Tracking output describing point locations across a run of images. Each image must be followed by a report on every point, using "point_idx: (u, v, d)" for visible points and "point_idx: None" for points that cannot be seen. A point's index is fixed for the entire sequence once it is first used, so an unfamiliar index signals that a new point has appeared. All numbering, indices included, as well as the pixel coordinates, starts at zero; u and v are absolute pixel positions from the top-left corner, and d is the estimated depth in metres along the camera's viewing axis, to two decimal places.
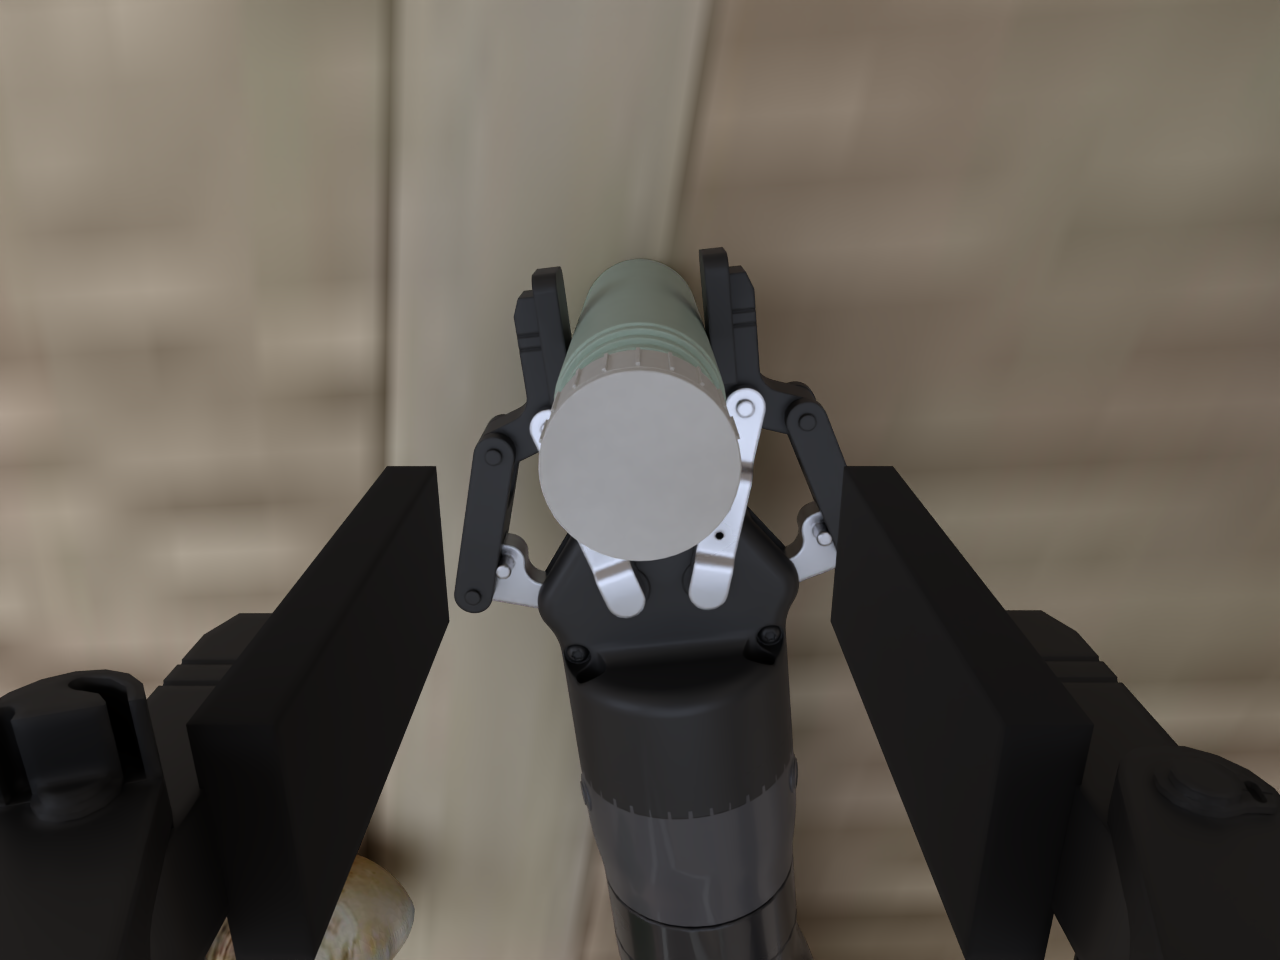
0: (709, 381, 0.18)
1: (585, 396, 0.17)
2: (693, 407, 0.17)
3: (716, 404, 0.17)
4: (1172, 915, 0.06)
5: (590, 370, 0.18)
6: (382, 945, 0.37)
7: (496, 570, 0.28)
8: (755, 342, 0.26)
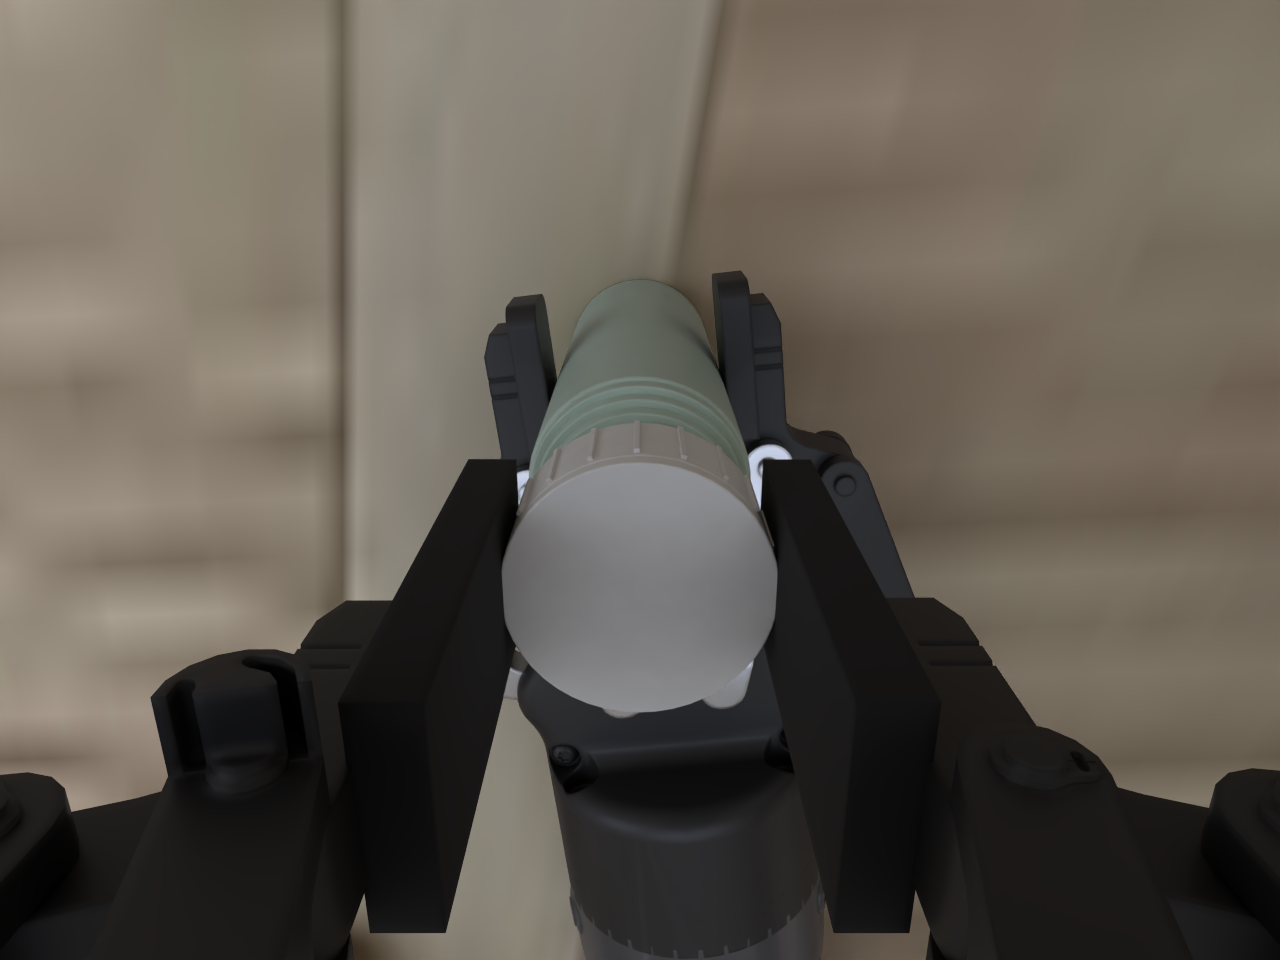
0: (733, 466, 0.14)
1: (563, 498, 0.12)
2: (714, 512, 0.12)
3: (746, 508, 0.12)
4: (1002, 890, 0.06)
5: (571, 455, 0.13)
6: None
7: None
8: (781, 388, 0.21)
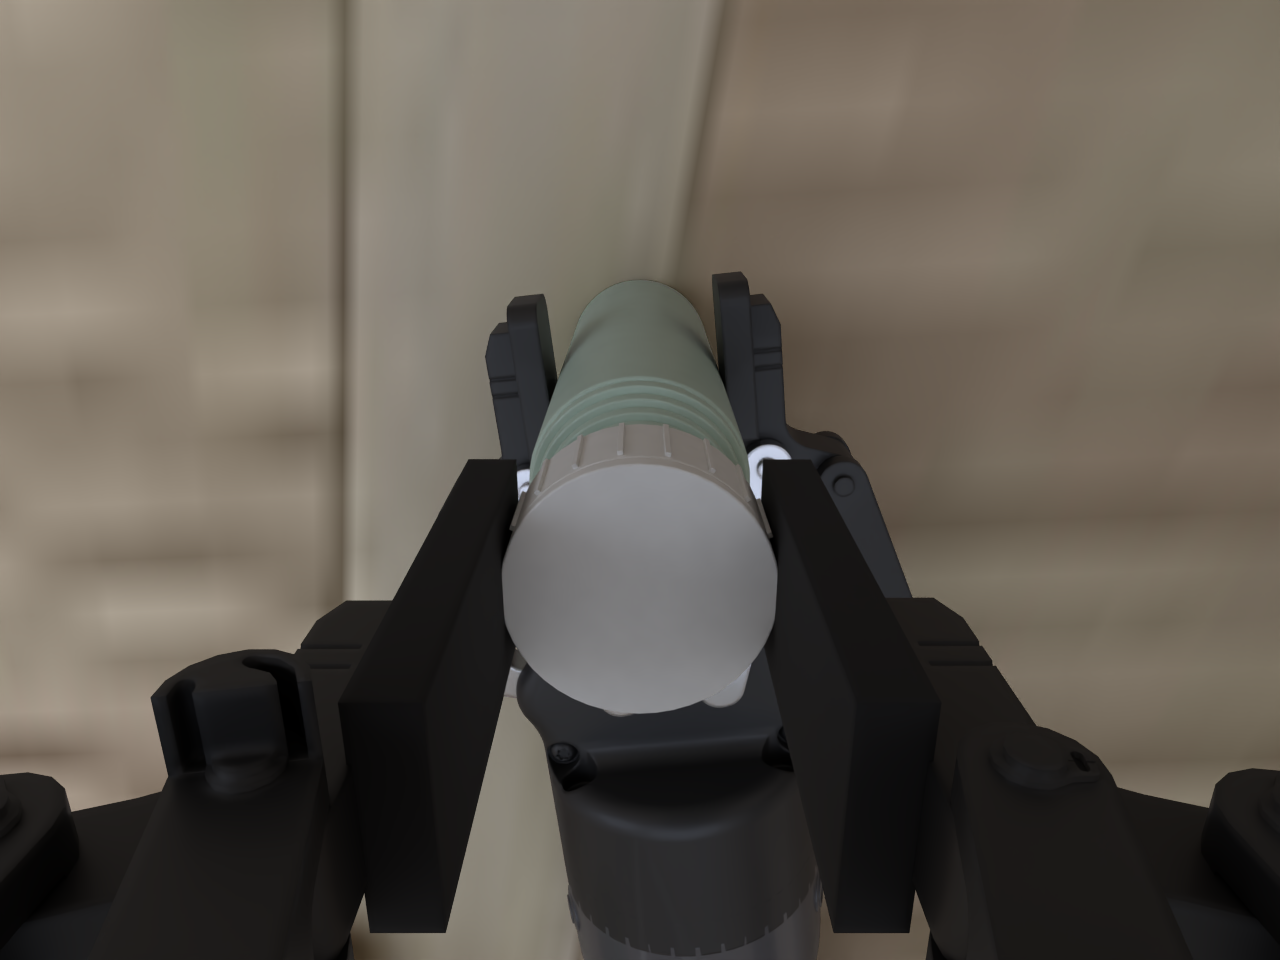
0: None
1: (587, 695, 0.13)
2: (525, 580, 0.13)
3: (505, 557, 0.12)
4: (1002, 889, 0.06)
5: None
6: None
7: None
8: (781, 388, 0.21)
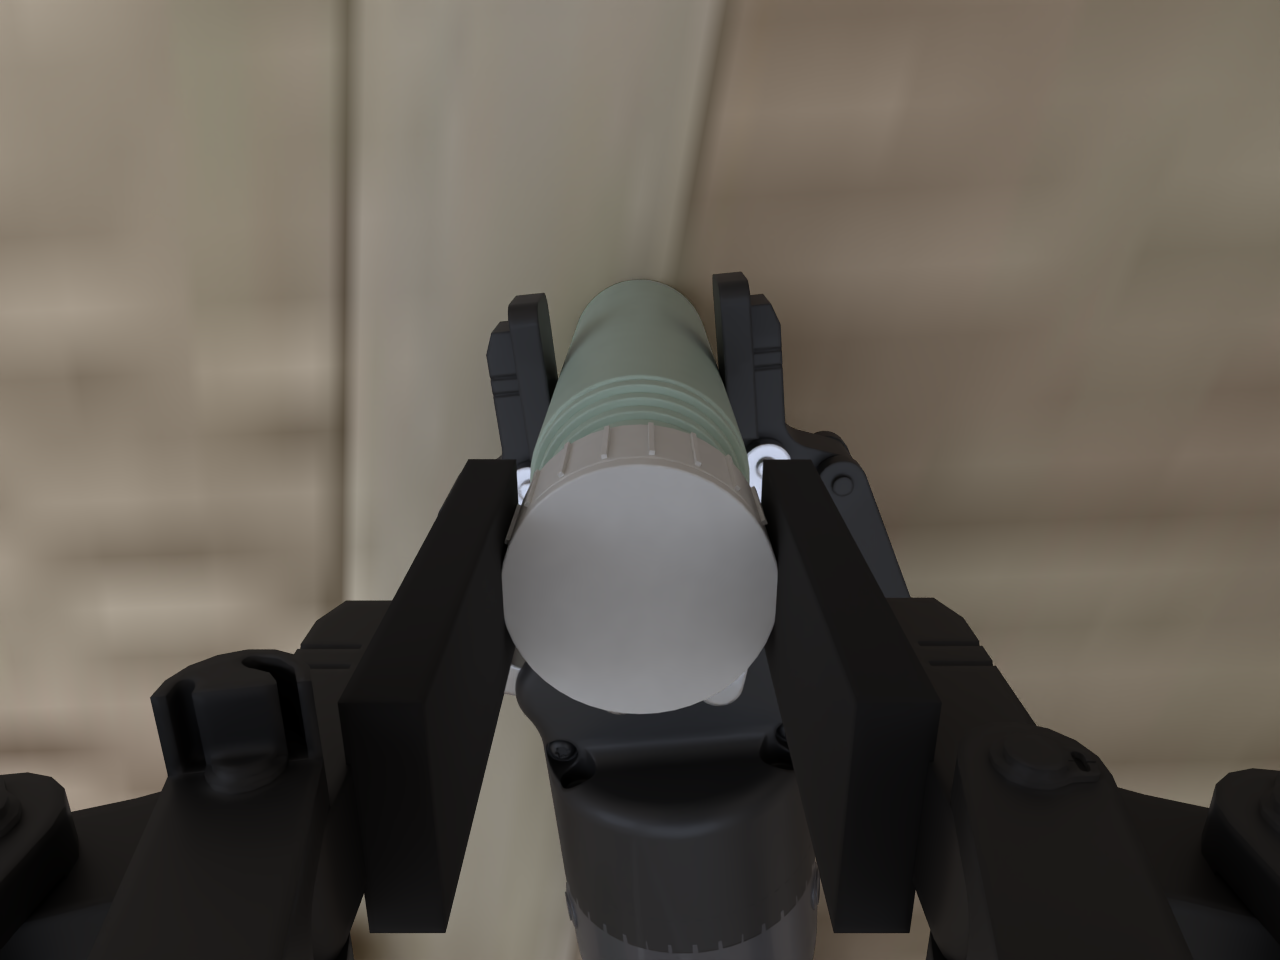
0: None
1: (767, 587, 0.13)
2: (680, 688, 0.13)
3: (668, 710, 0.13)
4: (1002, 890, 0.06)
5: None
6: None
7: None
8: (780, 388, 0.21)
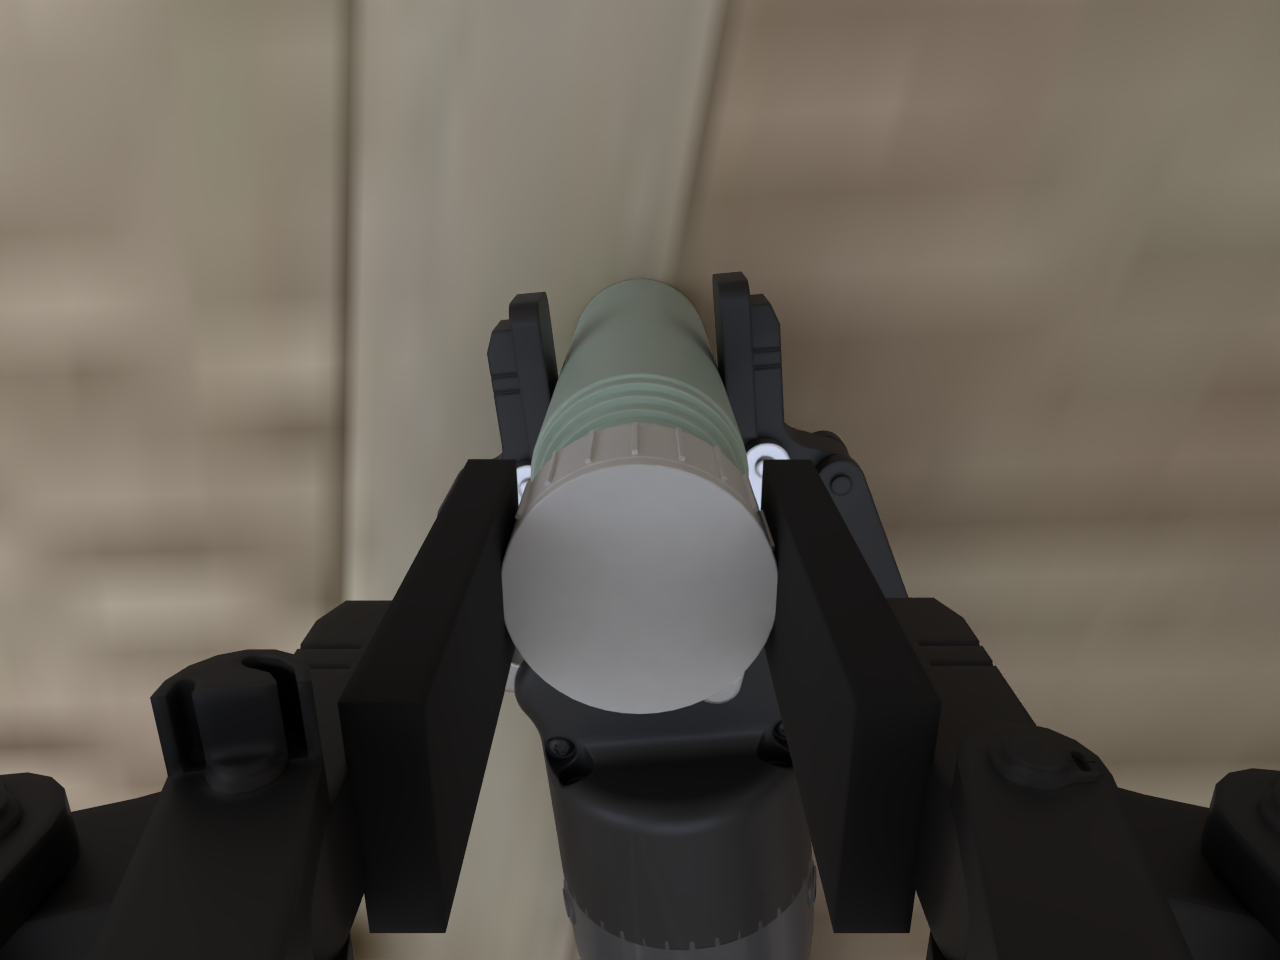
0: (732, 466, 0.14)
1: (562, 500, 0.12)
2: (713, 513, 0.12)
3: (745, 508, 0.12)
4: (1002, 890, 0.06)
5: (570, 457, 0.13)
6: None
7: None
8: (779, 387, 0.21)
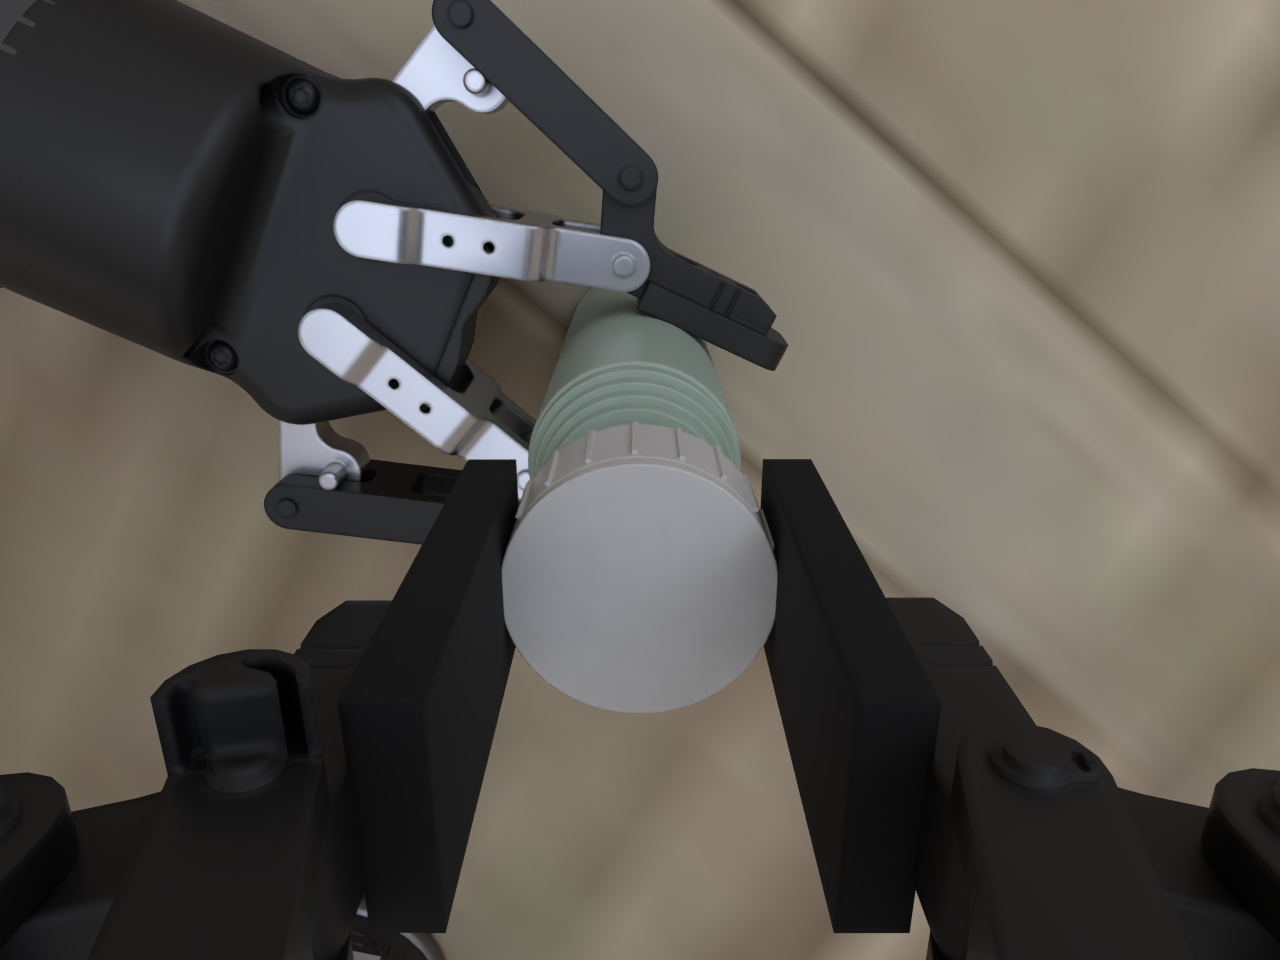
0: (732, 466, 0.14)
1: (562, 500, 0.12)
2: (712, 512, 0.12)
3: (744, 508, 0.12)
4: (1003, 890, 0.06)
5: (570, 457, 0.13)
6: None
7: (481, 74, 0.19)
8: None
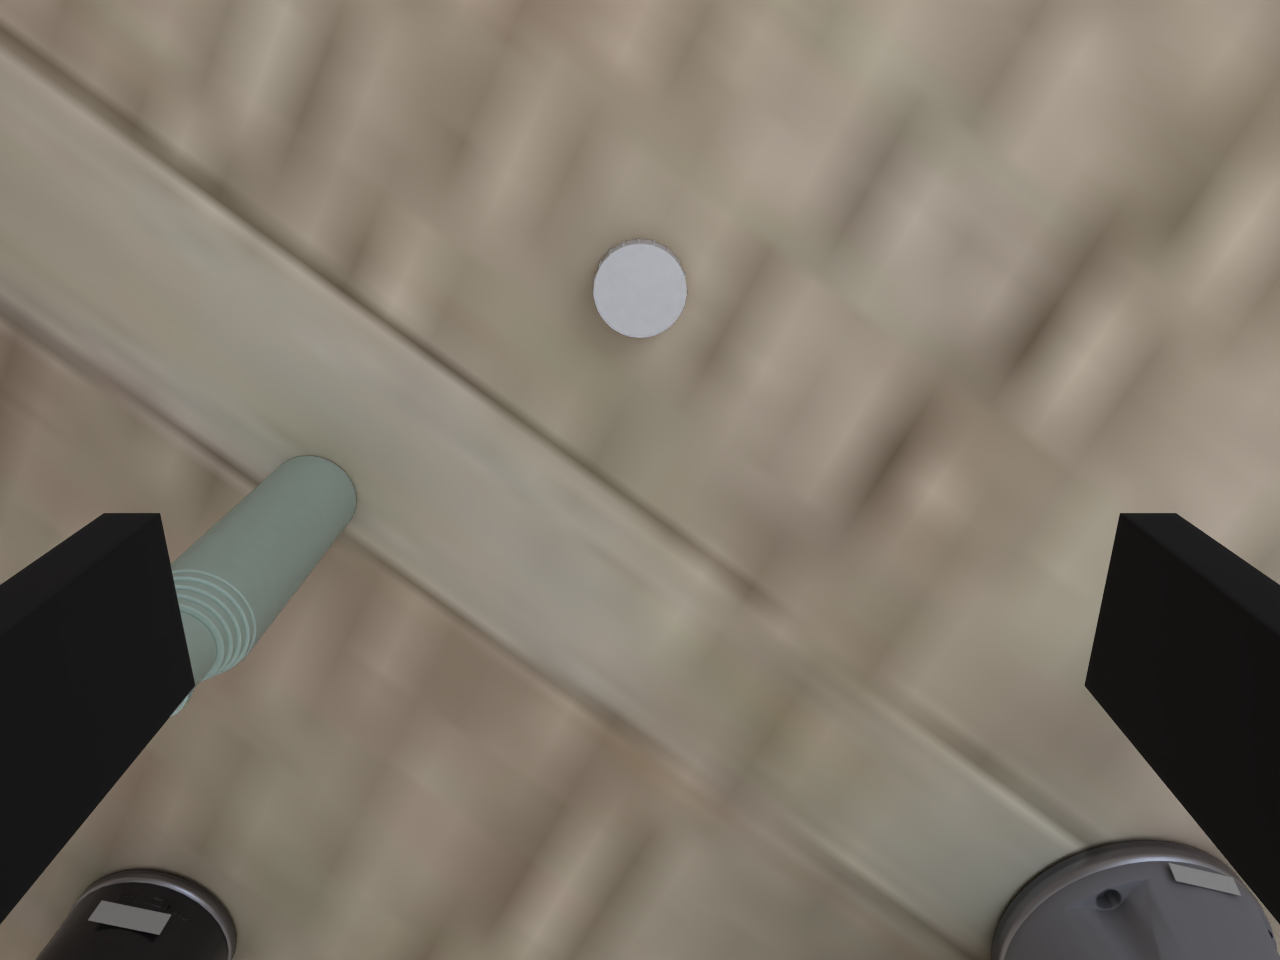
0: (672, 253, 0.39)
1: (615, 256, 0.37)
2: (663, 260, 0.38)
3: (674, 259, 0.38)
4: None
5: (616, 247, 0.38)
6: None
7: None
8: None
